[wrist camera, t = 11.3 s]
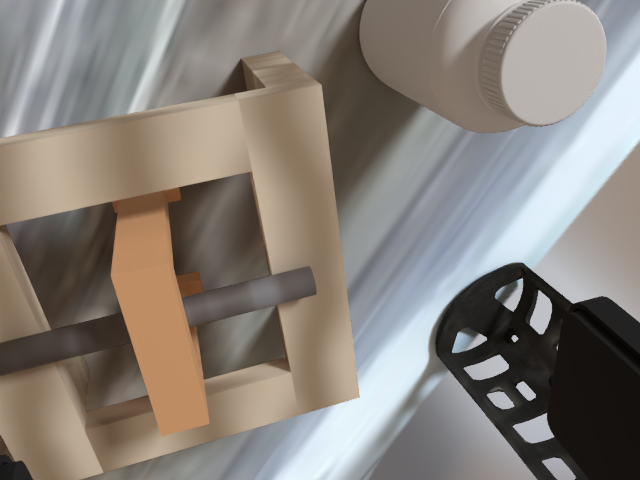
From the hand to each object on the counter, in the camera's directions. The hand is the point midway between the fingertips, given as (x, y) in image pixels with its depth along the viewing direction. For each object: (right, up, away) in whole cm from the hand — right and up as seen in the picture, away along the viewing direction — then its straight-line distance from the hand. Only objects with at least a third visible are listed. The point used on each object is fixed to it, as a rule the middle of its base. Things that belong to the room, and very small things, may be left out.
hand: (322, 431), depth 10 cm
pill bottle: (+6, +17, +28) cm, 33 cm away
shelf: (-11, +4, +29) cm, 31 cm away
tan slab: (-11, +3, +28) cm, 30 cm away
